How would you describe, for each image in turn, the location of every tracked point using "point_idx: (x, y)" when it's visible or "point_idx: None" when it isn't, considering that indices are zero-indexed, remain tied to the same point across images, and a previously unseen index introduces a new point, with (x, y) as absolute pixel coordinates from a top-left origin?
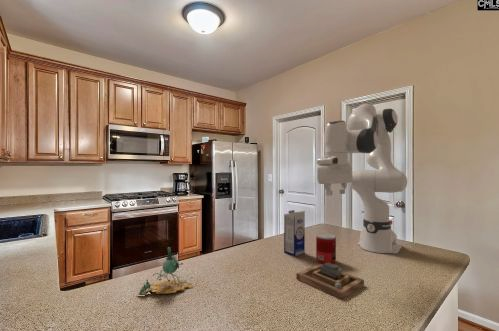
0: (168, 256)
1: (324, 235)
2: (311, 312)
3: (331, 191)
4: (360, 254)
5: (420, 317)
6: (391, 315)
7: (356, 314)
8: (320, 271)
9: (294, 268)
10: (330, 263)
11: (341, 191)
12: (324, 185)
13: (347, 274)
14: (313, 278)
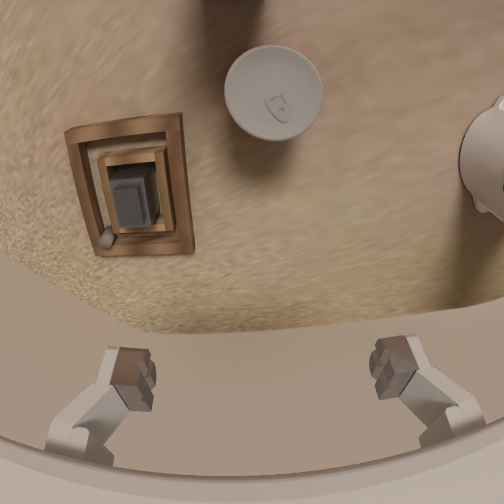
0: None
1: (284, 78)
2: (30, 242)
3: (134, 406)
4: (420, 135)
5: (175, 333)
6: (139, 311)
7: (91, 283)
8: (114, 175)
9: (114, 65)
10: (136, 199)
11: (382, 370)
12: (49, 432)
13: (184, 214)
14: (83, 179)
